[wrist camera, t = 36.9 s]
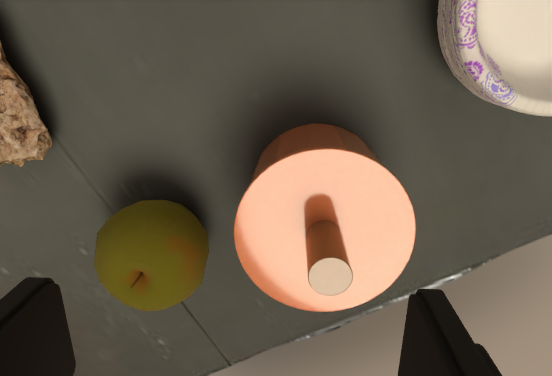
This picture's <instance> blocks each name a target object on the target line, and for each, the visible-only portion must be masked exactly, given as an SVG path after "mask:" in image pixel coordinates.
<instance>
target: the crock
mask: <svg viewBox="0 0 552 376" xmlns="http://www.w3.org/2000/svg"><path fill="white" fill-rule="evenodd" d="M313 147H340V148H345V149H350V150H354V151H357V152H360V153H362V154H365V155H367V156H369V157H371V158H373V159H375V160H376V161H378V162H379V163H381V161H380V160H379V159H378V157H377V156H376V155H375V153H374V152H373V151H372V150H371V149H370V148H369V147H368V146H367V145H366V143H364V142H363V140H362V139H361V138H360V137H359V136H357V135H356V134H353V133H352V132H350V131H348V130H346V129H343V128H341V127H338V126H335V125H329V124H306V125H302V126H299V127H296V128H293V129H291V130H288V131H286V132H285V133H283V134H281V135H279V136H278V137H277V138H276V139H275V140H273V141H272V142H271V143H270V144H269V145H268V147H267V148H266V149H265V150H264V151H263V152H262V153H261V156H260V158H259V160H258V162H257V165H256V167H255V170H254V172H253V175H252V178H251V181H250V183H251V182H252V180H253V179H254V178H255V177H256V176H257V175H258V174H259V173H260V172H261V171H262V170H263V169H265V168H266V167H267V166H268V165H269V164H271V163H273V162H274V161H276V160H277V159H279V158H281V157H283V156H285V155H288V154H290V153H293V152H296V151H299V150H302V149H307V148H313ZM381 164H382V163H381ZM382 165H383V164H382ZM249 185H250V184H249Z"/></svg>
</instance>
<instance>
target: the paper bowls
mask: <svg viewBox="0 0 552 376" xmlns="http://www.w3.org/2000/svg"><path fill="white" fill-rule="evenodd" d="M437 27H438V29H437V30H438V37H439V42H440V47H441V50H442V54H443V56H444V58H445V60H446V63H447V65H448V66H449V68H450V70H451V71H452V73H453V74H454V76H455V77H456V78H457V79H458V81H460V82H461V83H462V84H463V85H464V86H465V87H466V88H467V89H468V90H469V91H471V92H472V93H473V94H475V95H476V96H478V97H480V98H481V99H483V100H485V101H488V102H490V103H493V104H496V105H499V106H502V107H504V108H507V109H511V110H514V111H517V112H521V113H525V114H532V115H536V116H552V0H439V5H438V18H437Z"/></svg>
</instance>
